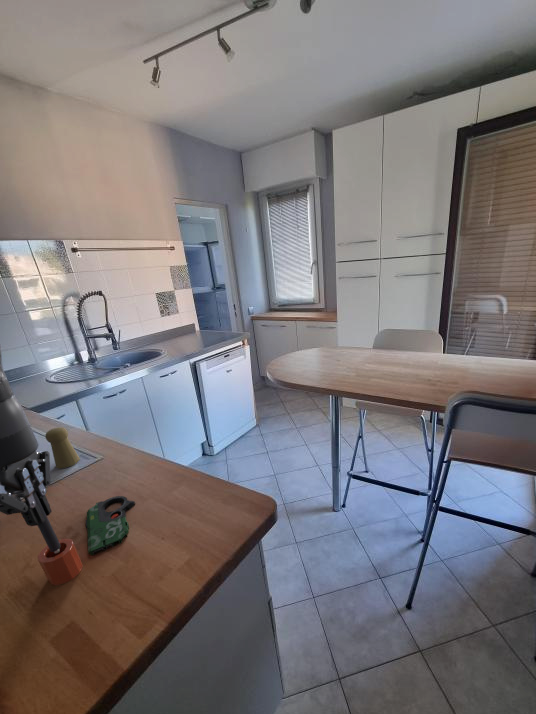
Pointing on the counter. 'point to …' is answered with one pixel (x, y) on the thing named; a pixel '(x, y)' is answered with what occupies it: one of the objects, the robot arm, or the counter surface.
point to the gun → (107, 524)
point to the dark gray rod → (47, 529)
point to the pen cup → (60, 562)
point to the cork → (62, 448)
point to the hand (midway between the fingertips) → (40, 519)
